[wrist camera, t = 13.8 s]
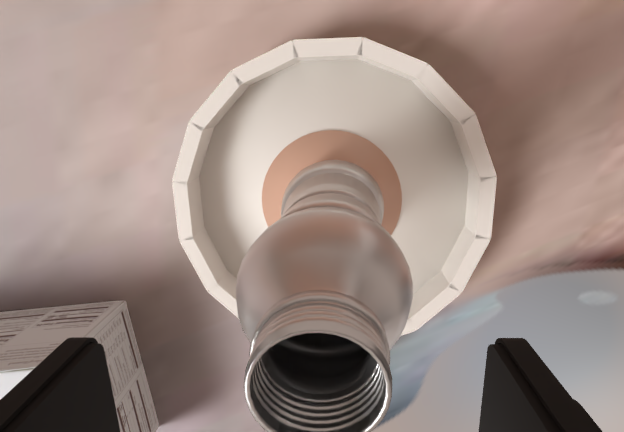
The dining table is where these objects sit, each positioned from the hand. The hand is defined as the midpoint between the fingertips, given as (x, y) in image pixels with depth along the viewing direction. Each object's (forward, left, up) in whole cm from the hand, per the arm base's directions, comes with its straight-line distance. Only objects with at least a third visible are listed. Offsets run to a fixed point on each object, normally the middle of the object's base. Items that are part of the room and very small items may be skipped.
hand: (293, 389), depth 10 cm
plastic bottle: (0, +1, -20) cm, 20 cm away
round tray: (0, 0, -21) cm, 21 cm away
